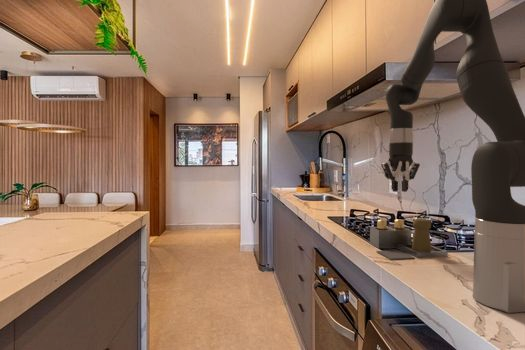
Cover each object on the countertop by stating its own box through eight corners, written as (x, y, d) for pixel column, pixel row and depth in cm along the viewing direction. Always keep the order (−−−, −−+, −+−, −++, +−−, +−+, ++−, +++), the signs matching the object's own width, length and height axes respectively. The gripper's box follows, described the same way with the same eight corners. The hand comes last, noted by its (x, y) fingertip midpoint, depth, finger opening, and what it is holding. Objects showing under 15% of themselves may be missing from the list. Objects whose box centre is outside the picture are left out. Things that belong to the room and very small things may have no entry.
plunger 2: (405, 234, 106) (405, 220, 106) (397, 235, 106) (397, 220, 106) (400, 232, 109) (400, 219, 109) (392, 233, 109) (392, 219, 109)
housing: (447, 256, 95) (448, 237, 95) (397, 258, 92) (398, 239, 92) (412, 242, 112) (412, 226, 112) (369, 243, 109) (370, 227, 109)
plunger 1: (388, 235, 105) (388, 221, 105) (379, 235, 105) (380, 221, 105) (383, 233, 108) (383, 219, 108) (375, 233, 108) (375, 219, 108)
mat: (414, 258, 92) (414, 257, 92) (390, 259, 91) (390, 258, 91) (399, 251, 100) (399, 250, 100) (376, 252, 99) (376, 250, 99)
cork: (406, 251, 100) (407, 218, 100) (418, 248, 103) (419, 216, 103) (423, 256, 95) (424, 221, 95) (436, 253, 98) (436, 219, 97)
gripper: (388, 141, 102) (387, 192, 102) (426, 141, 104) (425, 192, 104) (376, 142, 109) (375, 190, 110) (412, 143, 111) (411, 190, 112)
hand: (399, 191), depth 107 cm, fingers open, 3 cm apart
